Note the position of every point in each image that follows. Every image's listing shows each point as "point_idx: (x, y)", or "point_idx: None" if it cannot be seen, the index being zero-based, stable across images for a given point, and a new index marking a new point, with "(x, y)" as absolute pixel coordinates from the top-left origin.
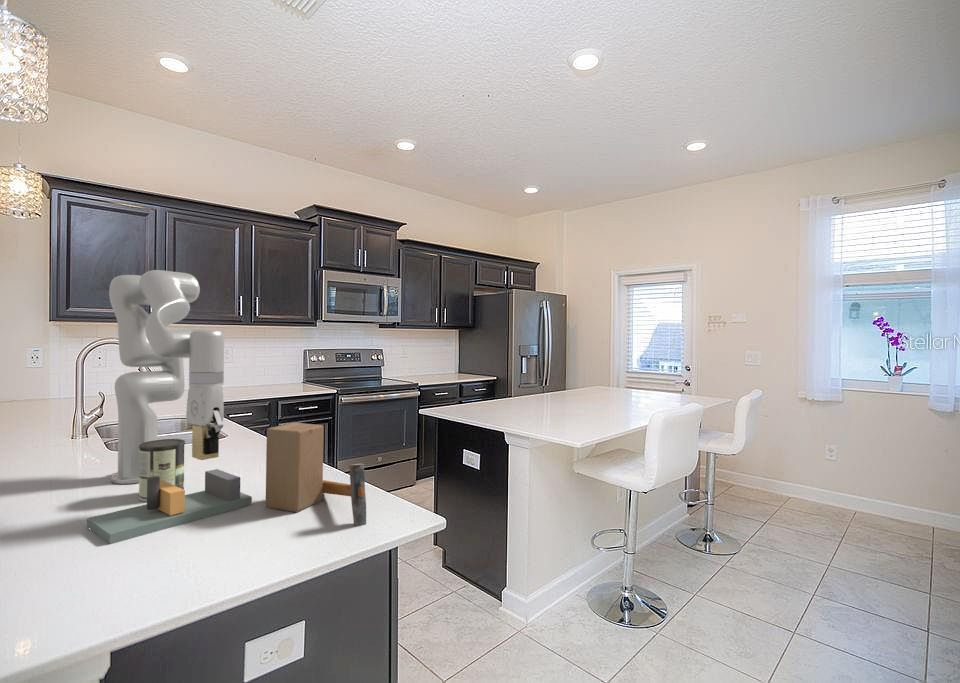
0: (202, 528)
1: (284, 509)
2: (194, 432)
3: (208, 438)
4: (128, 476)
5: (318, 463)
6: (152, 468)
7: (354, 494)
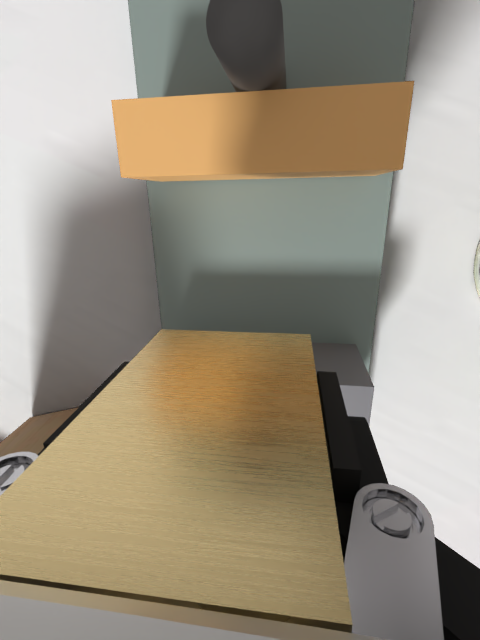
0: (75, 197)
1: (63, 410)
2: (261, 484)
3: (22, 461)
4: None
5: None
6: None
7: None
